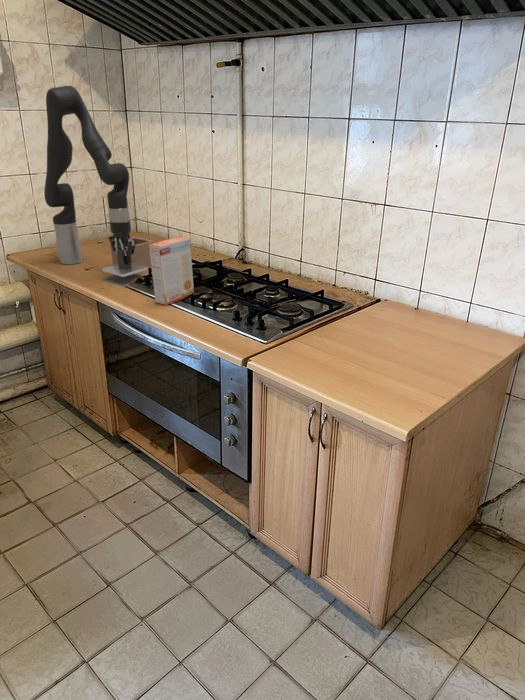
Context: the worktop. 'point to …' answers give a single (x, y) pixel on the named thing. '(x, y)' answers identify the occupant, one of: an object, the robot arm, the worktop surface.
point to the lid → (124, 266)
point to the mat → (122, 279)
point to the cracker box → (171, 270)
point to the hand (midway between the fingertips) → (124, 263)
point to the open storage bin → (138, 252)
